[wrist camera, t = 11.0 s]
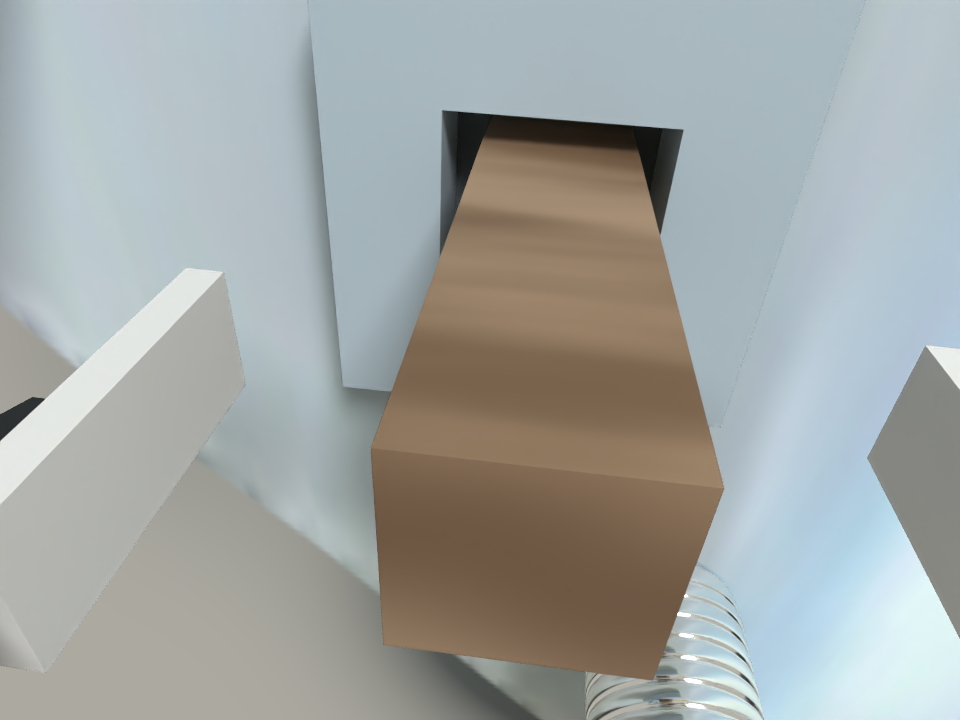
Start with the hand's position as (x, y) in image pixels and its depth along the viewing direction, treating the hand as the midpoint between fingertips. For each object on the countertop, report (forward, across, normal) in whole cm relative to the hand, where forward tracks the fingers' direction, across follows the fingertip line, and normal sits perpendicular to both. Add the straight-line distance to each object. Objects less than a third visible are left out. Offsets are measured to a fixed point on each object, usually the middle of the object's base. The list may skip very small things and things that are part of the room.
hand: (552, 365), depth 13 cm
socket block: (+9, 0, 0) cm, 9 cm away
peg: (+9, 0, 0) cm, 9 cm away
